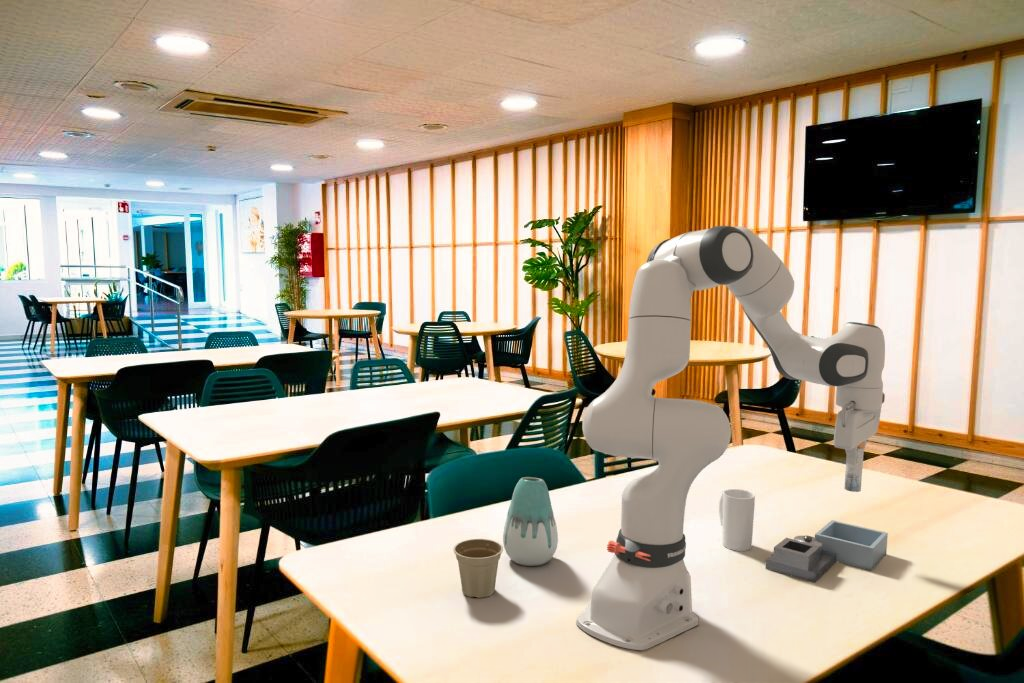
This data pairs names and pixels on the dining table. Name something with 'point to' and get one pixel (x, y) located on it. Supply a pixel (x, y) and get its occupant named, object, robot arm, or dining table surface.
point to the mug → (737, 518)
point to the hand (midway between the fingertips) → (854, 461)
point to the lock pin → (855, 472)
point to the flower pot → (478, 566)
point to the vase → (530, 524)
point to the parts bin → (853, 544)
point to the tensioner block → (801, 558)
